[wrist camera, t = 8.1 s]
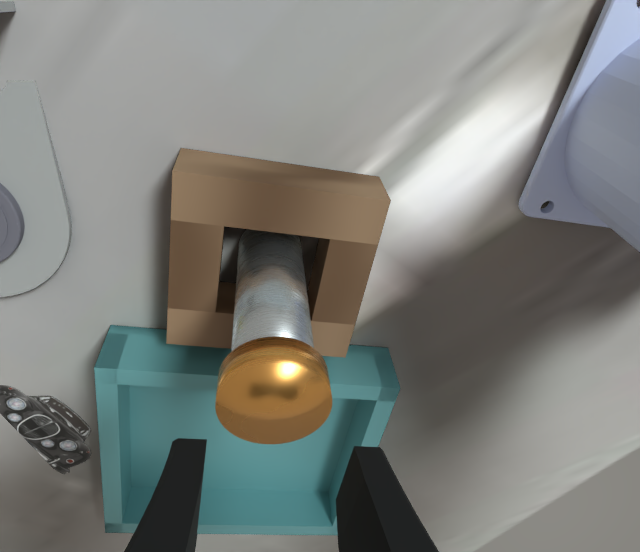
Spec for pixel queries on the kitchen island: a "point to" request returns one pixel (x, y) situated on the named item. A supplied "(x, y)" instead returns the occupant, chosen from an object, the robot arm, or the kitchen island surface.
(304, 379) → the pin
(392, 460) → the kitchen island surface
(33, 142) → the bracket
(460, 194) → the kitchen island surface
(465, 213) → the kitchen island surface
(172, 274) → the socket
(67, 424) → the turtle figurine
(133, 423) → the tray
